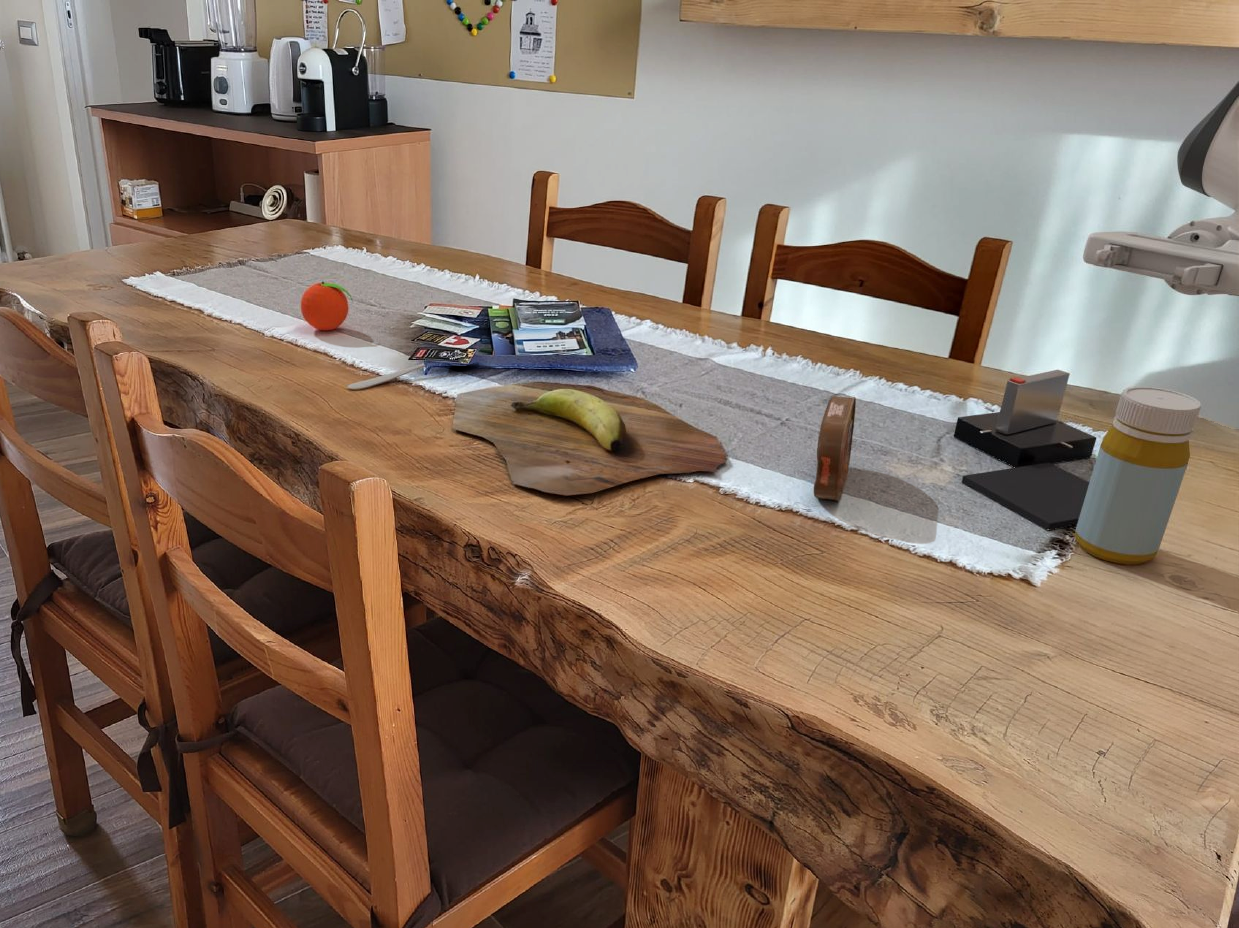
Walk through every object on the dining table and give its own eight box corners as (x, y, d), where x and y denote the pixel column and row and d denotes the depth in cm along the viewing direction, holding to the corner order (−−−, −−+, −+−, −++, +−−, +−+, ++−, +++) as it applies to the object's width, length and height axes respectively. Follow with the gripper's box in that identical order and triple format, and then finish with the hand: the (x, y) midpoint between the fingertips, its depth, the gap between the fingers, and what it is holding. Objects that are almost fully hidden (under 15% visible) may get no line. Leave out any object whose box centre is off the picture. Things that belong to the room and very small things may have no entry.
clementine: (363, 325, 156) (360, 278, 153) (346, 338, 150) (344, 289, 147) (312, 321, 157) (309, 274, 154) (294, 334, 151) (291, 285, 148)
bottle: (1057, 533, 100) (1100, 385, 93) (1125, 531, 101) (1172, 384, 94) (1100, 568, 94) (1149, 412, 87) (1171, 566, 95) (1225, 411, 88)
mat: (1047, 469, 114) (1049, 462, 114) (1138, 514, 104) (1141, 507, 104) (961, 482, 110) (962, 475, 110) (1047, 530, 100) (1049, 523, 100)
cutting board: (765, 466, 113) (770, 433, 111) (548, 514, 100) (550, 477, 98) (593, 373, 139) (595, 345, 138) (405, 401, 127) (405, 371, 125)
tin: (836, 514, 102) (850, 435, 98) (804, 509, 103) (817, 430, 99) (850, 460, 115) (863, 388, 111) (821, 455, 116) (833, 383, 112)
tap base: (1022, 421, 128) (1027, 401, 126) (1109, 462, 117) (1116, 440, 116) (936, 433, 123) (941, 412, 122) (1019, 476, 112) (1025, 453, 111)
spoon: (490, 366, 141) (491, 354, 140) (355, 393, 129) (355, 381, 128) (473, 358, 143) (473, 347, 143) (340, 384, 132) (339, 372, 131)
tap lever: (1044, 418, 122) (1058, 367, 119) (1056, 422, 120) (1070, 371, 118) (994, 430, 117) (1007, 378, 115) (1006, 435, 116) (1020, 382, 113)
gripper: (1127, 216, 131) (1062, 223, 125) (1303, 245, 116) (1239, 255, 109) (1114, 266, 134) (1049, 276, 127) (1283, 301, 119) (1220, 315, 112)
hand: (1138, 267), depth 118 cm, fingers open, 8 cm apart
